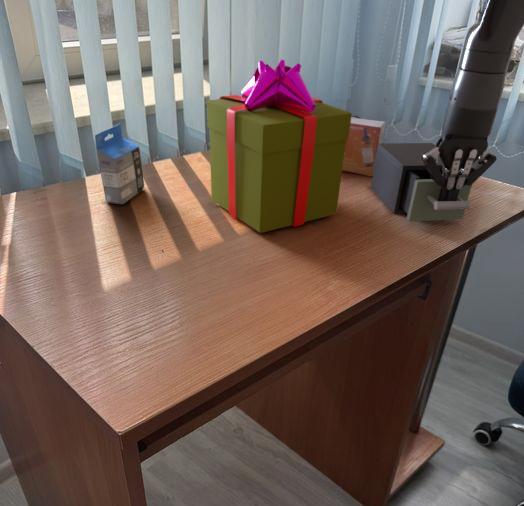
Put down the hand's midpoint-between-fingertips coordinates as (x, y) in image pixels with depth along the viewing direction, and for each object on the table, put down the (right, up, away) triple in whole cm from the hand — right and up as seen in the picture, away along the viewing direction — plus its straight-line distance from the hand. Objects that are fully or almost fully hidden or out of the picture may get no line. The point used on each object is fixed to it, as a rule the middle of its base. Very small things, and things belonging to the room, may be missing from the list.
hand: (445, 208), depth 92 cm
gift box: (-30, +1, +7) cm, 31 cm away
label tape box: (-59, +5, +10) cm, 60 cm away
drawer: (-1, +1, +7) cm, 7 cm away
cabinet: (-2, +6, +14) cm, 15 cm away
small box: (-10, +16, +27) cm, 33 cm away
